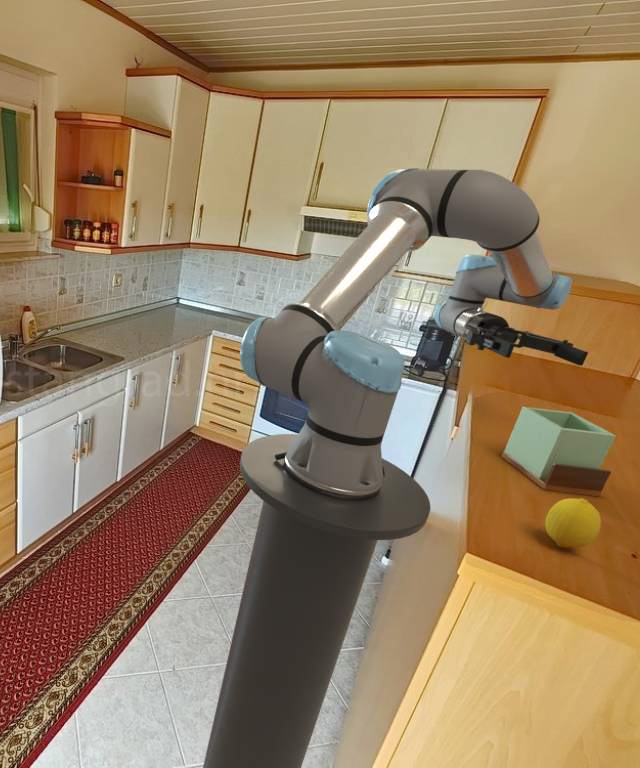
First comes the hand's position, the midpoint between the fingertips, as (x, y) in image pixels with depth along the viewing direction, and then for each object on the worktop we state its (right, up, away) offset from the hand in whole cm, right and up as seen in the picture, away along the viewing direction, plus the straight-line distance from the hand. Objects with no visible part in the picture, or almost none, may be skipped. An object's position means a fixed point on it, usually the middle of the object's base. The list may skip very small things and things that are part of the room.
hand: (546, 355), depth 94 cm
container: (-3, -21, -3) cm, 22 cm away
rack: (-3, -23, -3) cm, 23 cm away
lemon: (-19, -29, -24) cm, 42 cm away
